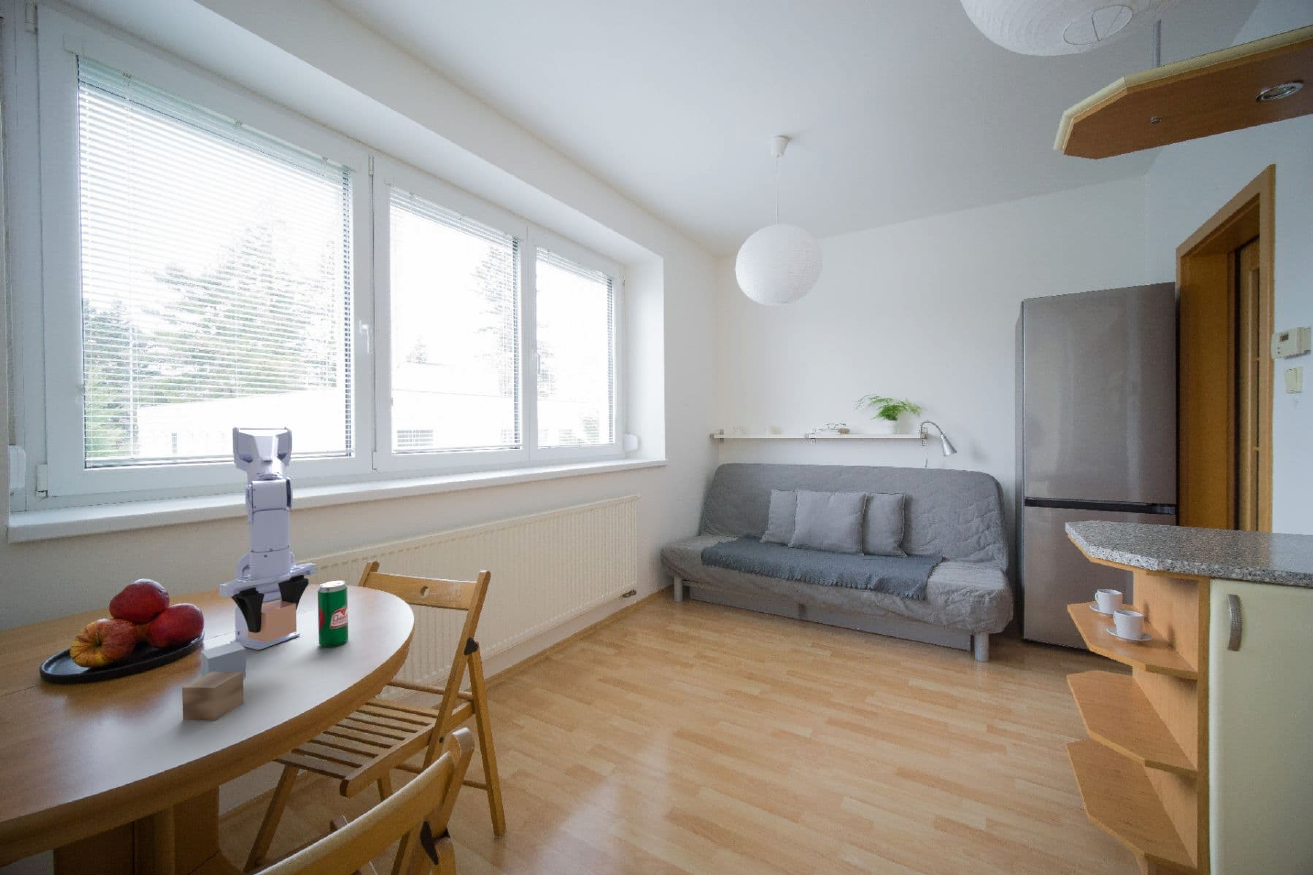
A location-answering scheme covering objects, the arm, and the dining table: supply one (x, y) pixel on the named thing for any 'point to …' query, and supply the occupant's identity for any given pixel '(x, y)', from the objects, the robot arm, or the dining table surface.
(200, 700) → the walnut block
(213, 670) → the slate blue block
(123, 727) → the dining table surface
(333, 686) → the dining table surface
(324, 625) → the soda can
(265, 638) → the terracotta block
